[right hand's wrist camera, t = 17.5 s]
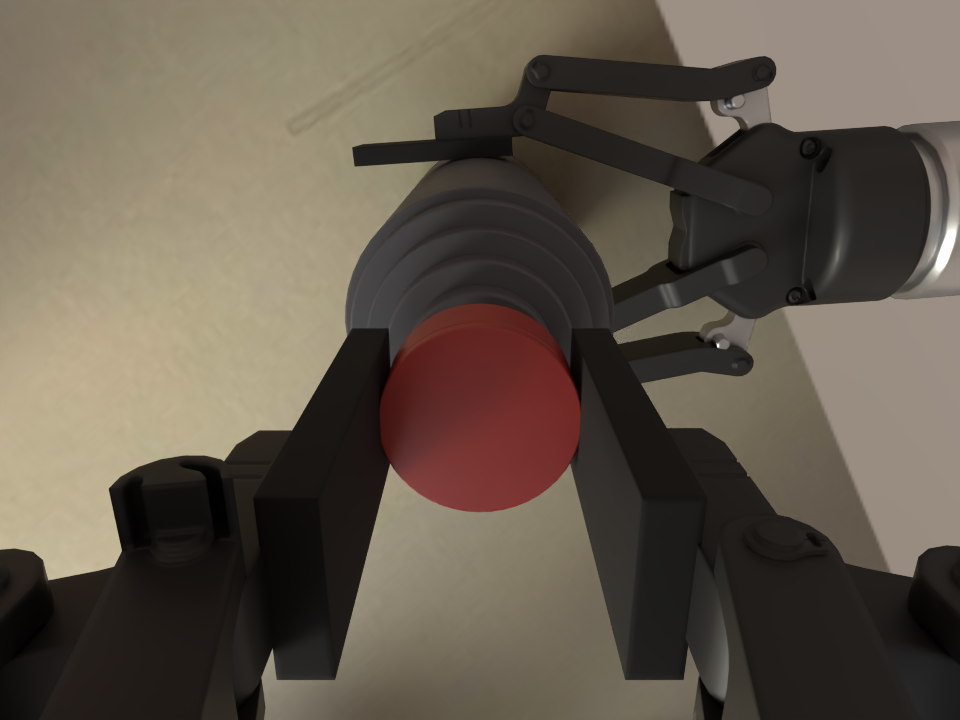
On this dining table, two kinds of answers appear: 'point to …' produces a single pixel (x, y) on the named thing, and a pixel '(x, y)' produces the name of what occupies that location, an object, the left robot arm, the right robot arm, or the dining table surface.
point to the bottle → (480, 255)
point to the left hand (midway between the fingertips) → (371, 249)
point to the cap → (480, 409)
